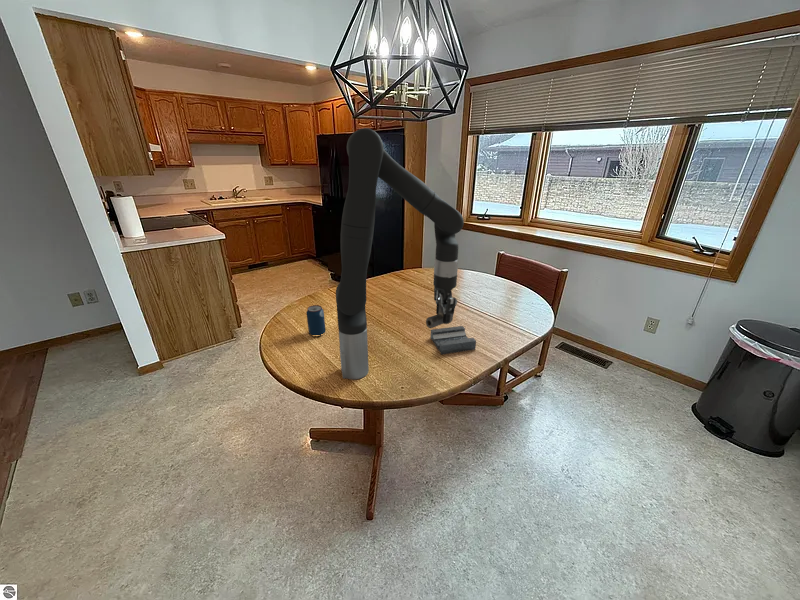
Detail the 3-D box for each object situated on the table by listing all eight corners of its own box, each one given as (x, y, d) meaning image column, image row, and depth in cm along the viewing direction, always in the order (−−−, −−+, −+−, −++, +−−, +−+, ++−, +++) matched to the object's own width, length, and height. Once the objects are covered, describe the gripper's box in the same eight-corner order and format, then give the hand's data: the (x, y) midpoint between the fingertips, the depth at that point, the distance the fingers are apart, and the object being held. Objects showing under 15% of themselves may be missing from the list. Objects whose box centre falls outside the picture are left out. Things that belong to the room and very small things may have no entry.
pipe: (422, 326, 109) (423, 305, 106) (446, 315, 117) (448, 295, 114) (436, 333, 105) (437, 311, 102) (460, 321, 113) (462, 300, 110)
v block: (441, 354, 122) (442, 345, 121) (430, 338, 133) (430, 329, 132) (475, 349, 126) (476, 340, 124) (461, 334, 137) (462, 325, 135)
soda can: (329, 332, 137) (326, 307, 132) (317, 339, 132) (314, 313, 127) (317, 328, 141) (314, 303, 136) (305, 334, 135) (302, 309, 130)
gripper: (427, 266, 110) (425, 310, 117) (442, 280, 97) (439, 329, 104) (448, 264, 111) (445, 308, 118) (465, 278, 99) (461, 327, 105)
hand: (442, 318), depth 111 cm, fingers closed on pipe, 6 cm apart
